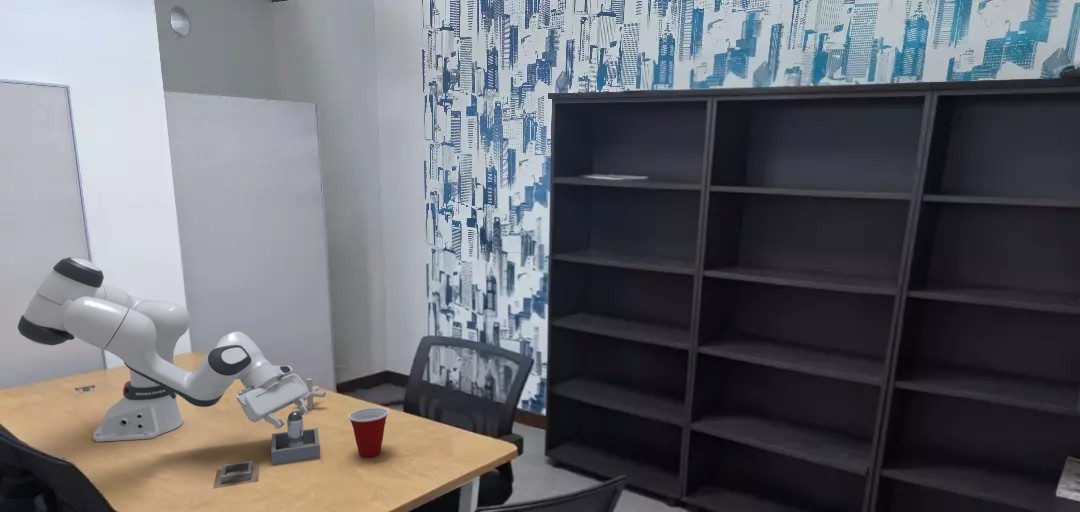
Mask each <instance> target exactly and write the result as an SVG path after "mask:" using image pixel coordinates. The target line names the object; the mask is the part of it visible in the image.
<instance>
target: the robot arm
mask: <svg viewBox="0 0 1080 512" xmlns="http://www.w3.org/2000/svg"><path fill="white" fill-rule="evenodd" d="M52 269H53V270H52V271H51V272H50V273H49V274H48V275H47V276H46V278H45V279H44V280H43V281H42V282H41V283H40V285H39V287H37V289H36V292H35V294H34V295H33V296H32V298H31V300H30V302H29V303H28V306H27V308H26V310H25V312H24V314H22V315H21V317H20V319H19V321H18V324H17V330H18V332H19V334H20V335H21V336H22V337H24V338H26V340H28V341H31V342H32V343H35V344H39V345H44V346H46V345H47V346H56V345H60V344H64V343H65V342H67V341H68V340H69V341H73V340H74V339H75V338H77V339H79V340H81V341H83V342H85V343H87V344H89V345H92V346H94V347H96V348H99V349H102V350H104V351H106V352H109V353H111V354H112V355H115V356H116V357H118V358H119V359H120V360H122V362H123V364H124V366H126V368H127V369H129V374H130V375H129V378H130V379H129V380H128V381H126V382H125V384H124V385H123V389H122V395H123V397H122V398H121V399H119V400H118V401H117V402H115V403H114V404H113V405H112V406H110V407H109V408H108V409H107V410H106V412H105V414H104V415H103V418H102V422H101V423H102V424H100V425H99V426H98V427H97V428H96V429H95V430H94V432H93V433H92V434H93V436H92V437H93V438H92V439H93V441H95V442H98V443H99V442H113V441H114V442H115V441H116V442H117V441H118V442H119V441H132V440H133V441H134V440H149V439H154V438H156V437H158V436H160V435H162V434H165V433H168V432H171V431H173V430H175V429H177V428H179V427H180V426H181V425H183V423H184V420H183V418H182V416H181V413H180V410H179V405H178V401H177V395H178V396H180V397H181V398H182V399H184V400H185V401H186V402H188V403H189V404H191V405H193V406H196V407H199V408H200V407H201V408H207V407H212V406H215V405H216V404H217V403H218V402H220V400H221V398H222V397H223V395H224V394H225V393H226V392H227V390H228V389H229V387H231V385H233V383H234V381H236V380H240V383H241V384H242V386H243V387H244V389H242V390H240V391H238V393H237V395H236V401H237V403H239V404H240V406H241V409H242V411H243V412H244V414H245V416H246V418H247V419H248V420H249V421H250V422H252V423H258V421H259V422H260V421H261V420H264V421H265V422H267V423H268V424H271V425H272V426H274V427H275V428H276V430H278V429H281V428H282V427H283V426H284V425H285V422H284V421H283V420H282V419H281V418H279V419H278V418H276V417H275V416H274V414H275V413H276V412H279V411H280V410H283V409H285V408H286V407H289V406H290V405H293V404H295V406H297V407H298V410H297V411H298V412H300V413H301V415H302V416H305V415H307V413H308V412H309V409H307V408H306V406H305V401H304V400H303V398H304V397H305V396H306V395H307V394H308V387H307V383H305V382H304V381H303V380H302V378H301V377H300V376H299V375H298V374H297V373H294V372H293V371H294V369H293V368H292V366H290V365H273V364H272V363H271V362H270V361H269V360H268V359H266V358H265V356H264V354H263V351H262V350H261V348H260V347H259V346H258V345H257V344H256V342H254V341H253V340H252V338H250V336H248V334H245V333H244V332H242V331H231V332H228V333H227V334H225V335H223V336H221V338H220V339H218V341H217V342H216V346H214V348H213V349H212V350H211V351H209V352H208V353H207V355H205V357H204V358H203V359H202V360H201V361H200V363H198V365H197V367H196V368H195V369H194V370H192V371H188V370H184V369H183V368H181V367H178V366H177V365H174V353H175V348H176V345H177V343H178V341H179V339H180V338H181V337H182V336H183V335H185V334H186V332H187V331H188V330H189V327H190V324H191V316H190V315H191V314H190V313H189V311H188V310H187V309H186V308H185V307H184V306H182V305H179V304H176V303H174V302H170V301H163V300H162V301H161V300H153V299H144V298H139V297H135V296H132V295H129V294H128V293H127V292H126V291H125V290H123V289H120V288H116V287H113V286H110V285H107V284H104V279H105V277H104V273H103V271H102V270H101V269H99V267H98V266H97V265H96V264H94V263H93V262H91V261H89V260H87V259H84V258H78V257H70V256H69V257H66V258H62V259H61V260H59V261H58V262H57V263H56V264H55V265H54V266H53V268H52Z"/></svg>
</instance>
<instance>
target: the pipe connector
mask: <svg viewBox="0 0 1080 512" xmlns="http://www.w3.org/2000/svg"><path fill="white" fill-rule="evenodd" d="M305 382H306V386H307V387H308V394H307V395H306V396H305V397H304V398H303V400H304V402H305V401H306V406H307V408H306V409H307V410H312V409H314V398H326V395H327V394H326V391H322V390H321V391H320V386H318V385H315V386H313V378H311V377H309V378H306V381H305Z"/></svg>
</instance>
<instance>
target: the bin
mask: <svg viewBox="0 0 1080 512" xmlns="http://www.w3.org/2000/svg"><path fill="white" fill-rule="evenodd" d="M303 440H304V444H306V445H304V446H300V447H293V448H288V431H286V432H285V431H283V432H277V433H272V435H271V447H270V449H271V452H270V453H271V454H270V455H271V466H275V465H282V464H289V463H290V464H291V463H296V462H303V461H309V460H310V461H311V460H315V459H316V460H317V459H318V460H319V459H321V444H320V437H319V429H318V427H317V428H316V427H315V428H308V429H307V428H306V429H303ZM309 443H314V444H309ZM307 444H308V445H307ZM282 447H287V448H282ZM277 448H279V449H277Z"/></svg>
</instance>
